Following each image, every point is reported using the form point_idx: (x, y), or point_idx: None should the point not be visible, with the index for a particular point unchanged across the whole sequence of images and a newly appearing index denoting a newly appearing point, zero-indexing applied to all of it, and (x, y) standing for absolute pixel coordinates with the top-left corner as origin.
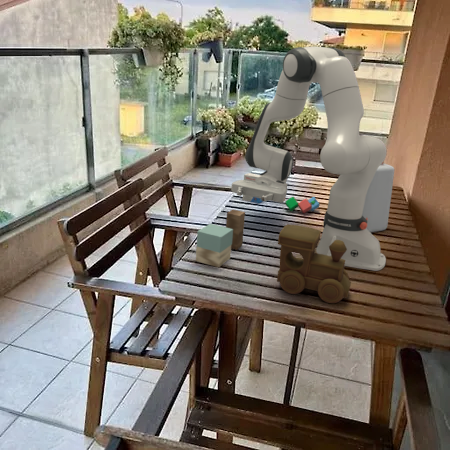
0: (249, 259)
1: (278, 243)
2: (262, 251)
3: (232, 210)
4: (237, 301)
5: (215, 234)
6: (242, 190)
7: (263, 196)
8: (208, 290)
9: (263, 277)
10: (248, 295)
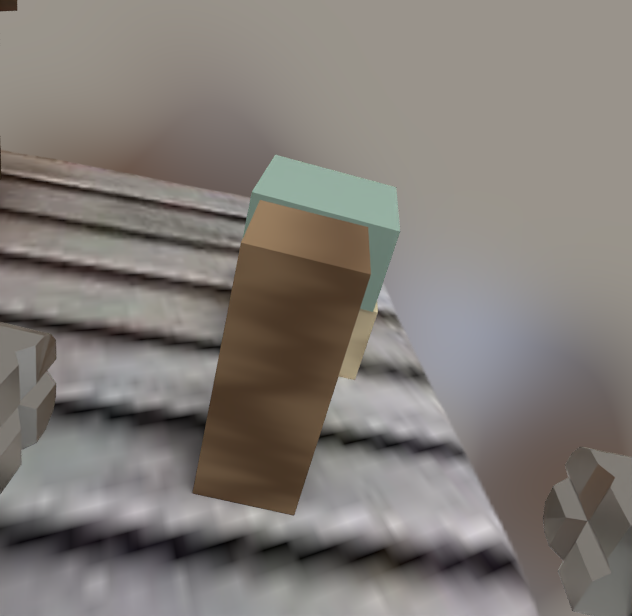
0: (118, 349)
1: (14, 5)
2: None
3: (359, 259)
4: (138, 182)
5: (309, 167)
6: (625, 513)
7: (14, 325)
8: (231, 210)
9: (46, 248)
10: (107, 193)
